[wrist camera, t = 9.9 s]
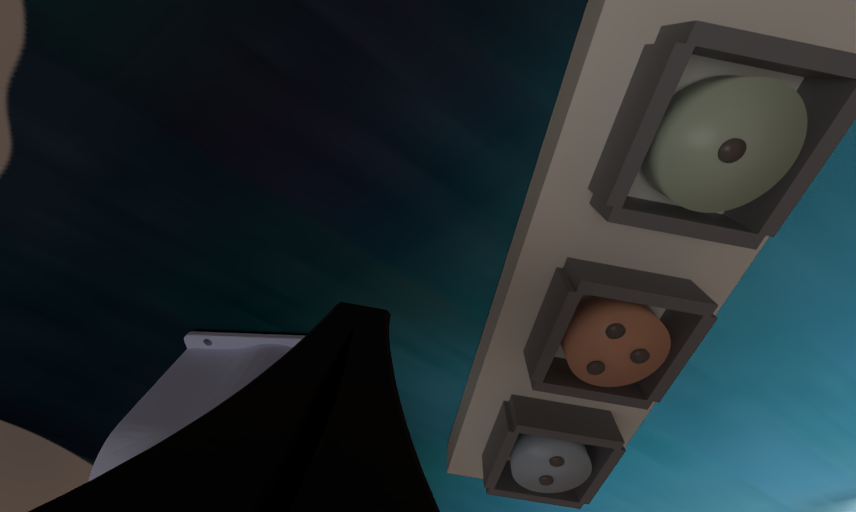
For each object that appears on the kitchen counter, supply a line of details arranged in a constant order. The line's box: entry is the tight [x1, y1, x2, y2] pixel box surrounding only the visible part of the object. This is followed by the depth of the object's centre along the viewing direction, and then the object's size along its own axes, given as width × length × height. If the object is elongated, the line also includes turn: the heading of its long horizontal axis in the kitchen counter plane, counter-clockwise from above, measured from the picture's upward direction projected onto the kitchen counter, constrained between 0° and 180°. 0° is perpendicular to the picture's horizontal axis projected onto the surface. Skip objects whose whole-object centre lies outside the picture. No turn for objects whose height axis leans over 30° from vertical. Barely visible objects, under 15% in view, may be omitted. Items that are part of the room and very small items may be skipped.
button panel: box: [447, 0, 856, 509], centre depth 18 cm, size 28×10×4 cm, turn 170°
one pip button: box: [641, 75, 807, 213], centre depth 13 cm, size 4×4×2 cm
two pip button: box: [509, 433, 592, 493], centre depth 21 cm, size 4×4×2 cm
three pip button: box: [560, 296, 671, 387], centre depth 17 cm, size 4×4×2 cm
